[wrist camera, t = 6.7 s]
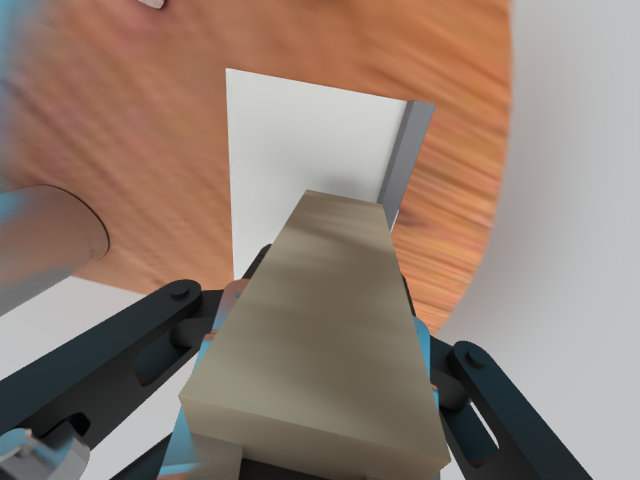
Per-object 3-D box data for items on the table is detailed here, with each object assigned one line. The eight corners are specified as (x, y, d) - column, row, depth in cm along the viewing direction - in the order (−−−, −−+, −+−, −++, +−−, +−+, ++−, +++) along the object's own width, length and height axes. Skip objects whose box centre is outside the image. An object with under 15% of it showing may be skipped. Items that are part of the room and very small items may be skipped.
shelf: (242, 275, 26) (225, 301, 23) (239, 72, 16) (208, 62, 13) (356, 300, 26) (356, 329, 22) (421, 105, 16) (439, 104, 13)
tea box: (294, 277, 15) (212, 503, 6) (306, 189, 12) (178, 395, 3) (357, 290, 15) (358, 541, 6) (385, 205, 12) (461, 463, 3)
